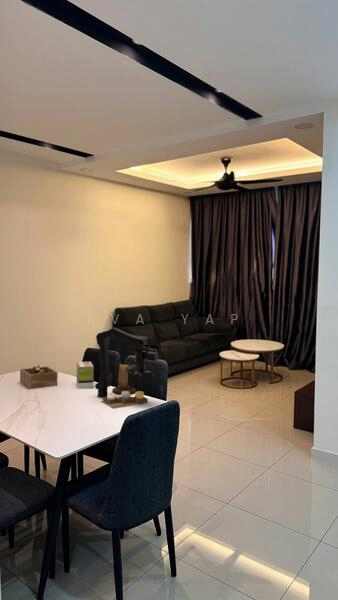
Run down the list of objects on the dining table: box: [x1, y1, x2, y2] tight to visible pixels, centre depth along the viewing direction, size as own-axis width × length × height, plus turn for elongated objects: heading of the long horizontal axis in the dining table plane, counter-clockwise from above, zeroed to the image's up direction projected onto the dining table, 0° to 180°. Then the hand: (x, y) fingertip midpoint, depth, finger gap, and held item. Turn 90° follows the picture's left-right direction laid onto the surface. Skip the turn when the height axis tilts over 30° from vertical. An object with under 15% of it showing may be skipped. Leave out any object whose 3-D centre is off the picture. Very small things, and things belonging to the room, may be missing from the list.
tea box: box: [76, 361, 95, 389], centre depth 277 cm, size 15×10×15 cm, turn 17°
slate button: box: [120, 391, 131, 400], centre depth 239 cm, size 5×5×4 cm
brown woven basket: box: [111, 361, 137, 395], centre depth 260 cm, size 15×15×20 cm
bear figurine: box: [32, 364, 44, 374], centre depth 278 cm, size 14×15×12 cm
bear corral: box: [19, 366, 59, 390], centre depth 277 cm, size 20×18×9 cm
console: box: [100, 396, 149, 410], centre depth 239 cm, size 16×23×3 cm
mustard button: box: [134, 390, 145, 400], centre depth 240 cm, size 5×5×4 cm
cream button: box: [107, 392, 117, 400], centre depth 238 cm, size 5×5×4 cm
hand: (139, 386), depth 240 cm, fingers closed
